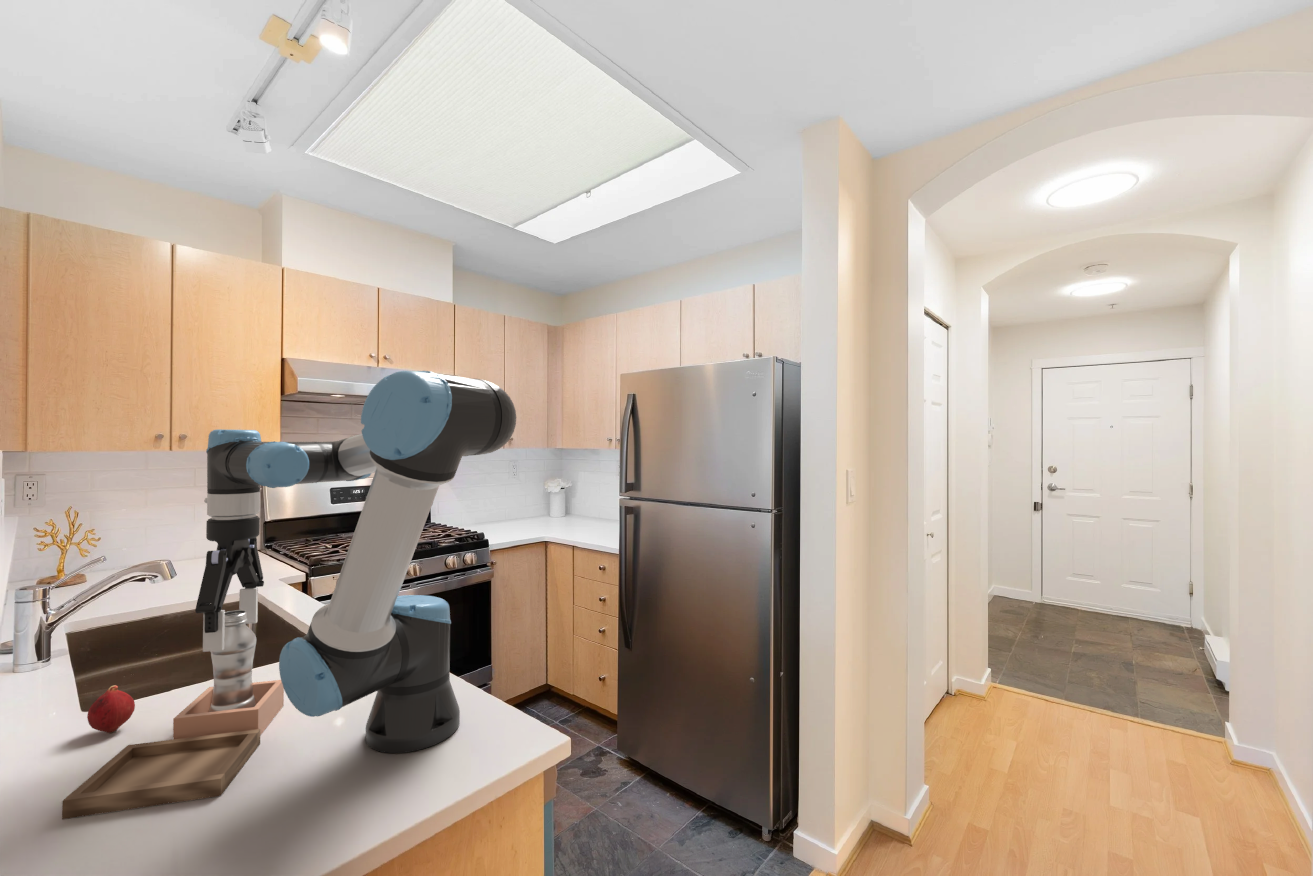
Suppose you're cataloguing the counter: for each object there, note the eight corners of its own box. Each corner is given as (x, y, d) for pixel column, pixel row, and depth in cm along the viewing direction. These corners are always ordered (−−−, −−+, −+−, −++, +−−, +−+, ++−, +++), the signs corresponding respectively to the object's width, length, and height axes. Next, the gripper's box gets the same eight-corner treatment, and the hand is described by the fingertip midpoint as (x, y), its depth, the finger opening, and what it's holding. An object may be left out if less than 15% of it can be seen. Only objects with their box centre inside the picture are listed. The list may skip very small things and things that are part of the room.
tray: (260, 744, 93) (260, 729, 93) (220, 796, 79) (220, 778, 79) (128, 760, 88) (128, 745, 88) (62, 819, 74) (62, 800, 74)
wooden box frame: (283, 705, 106) (283, 679, 106) (258, 738, 95) (258, 709, 95) (209, 714, 103) (209, 687, 103) (173, 749, 91) (173, 718, 91)
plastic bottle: (218, 719, 101) (218, 609, 101) (261, 714, 103) (262, 606, 103) (200, 738, 95) (201, 620, 95) (247, 732, 97) (248, 617, 97)
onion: (104, 743, 93) (104, 695, 93) (77, 739, 94) (78, 692, 94) (143, 725, 98) (143, 680, 98) (117, 722, 100) (117, 677, 100)
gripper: (239, 507, 110) (238, 615, 110) (168, 528, 86) (167, 666, 86) (283, 506, 112) (281, 612, 112) (226, 527, 88) (224, 661, 88)
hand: (232, 636), depth 99 cm, fingers open, 13 cm apart
